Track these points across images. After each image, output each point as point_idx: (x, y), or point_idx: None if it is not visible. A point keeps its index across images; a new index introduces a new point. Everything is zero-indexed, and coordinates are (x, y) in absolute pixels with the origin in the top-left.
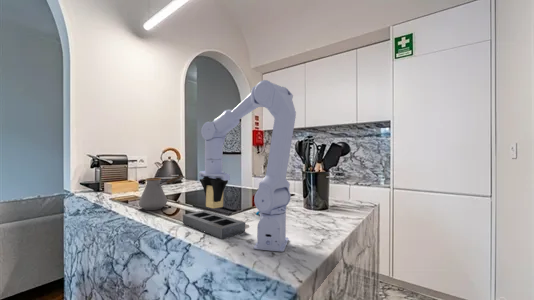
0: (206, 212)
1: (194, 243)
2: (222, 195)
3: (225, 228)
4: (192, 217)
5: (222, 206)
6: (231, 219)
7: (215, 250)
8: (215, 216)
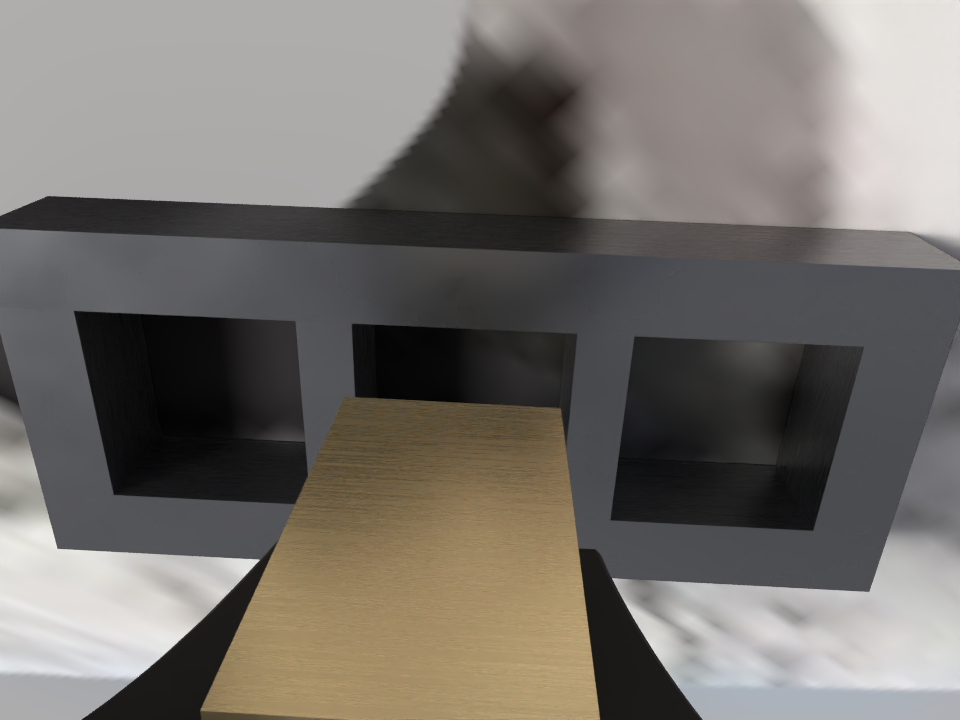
0: (115, 293)
1: (694, 683)
2: (576, 557)
3: (876, 549)
4: (248, 544)
5: (559, 420)
6: (709, 301)
7: (940, 673)
8: (378, 319)
